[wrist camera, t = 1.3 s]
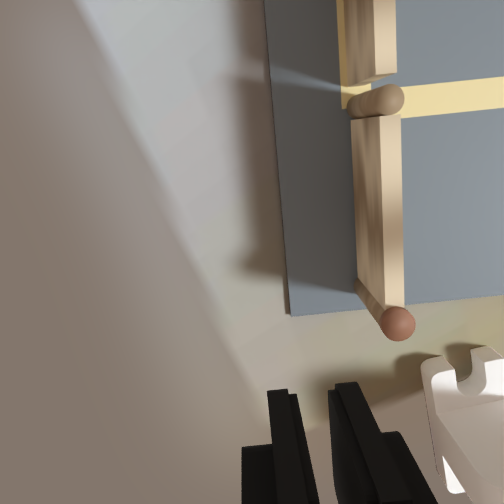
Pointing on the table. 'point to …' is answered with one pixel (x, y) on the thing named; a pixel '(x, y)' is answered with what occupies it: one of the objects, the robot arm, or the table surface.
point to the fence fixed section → (370, 40)
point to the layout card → (412, 149)
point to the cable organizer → (468, 424)
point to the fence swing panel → (379, 207)
